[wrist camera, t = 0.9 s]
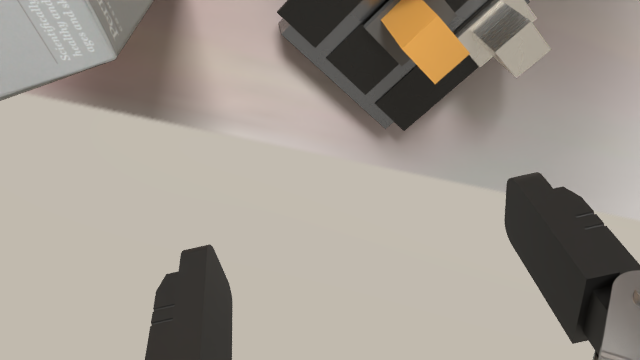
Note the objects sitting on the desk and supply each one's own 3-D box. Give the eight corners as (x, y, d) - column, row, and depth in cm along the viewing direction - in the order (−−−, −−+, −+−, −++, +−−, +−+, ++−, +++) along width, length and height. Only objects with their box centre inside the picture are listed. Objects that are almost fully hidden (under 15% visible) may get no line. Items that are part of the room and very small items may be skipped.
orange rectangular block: (419, -30, 29) (450, -4, 25) (454, 13, 31) (488, 43, 27) (363, 25, 31) (383, 58, 27) (399, 63, 32) (424, 99, 28)
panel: (413, -151, 28) (454, -143, 23) (523, 4, 34) (574, 37, 29) (265, 11, 32) (272, 48, 27) (388, 123, 38) (411, 171, 33)
